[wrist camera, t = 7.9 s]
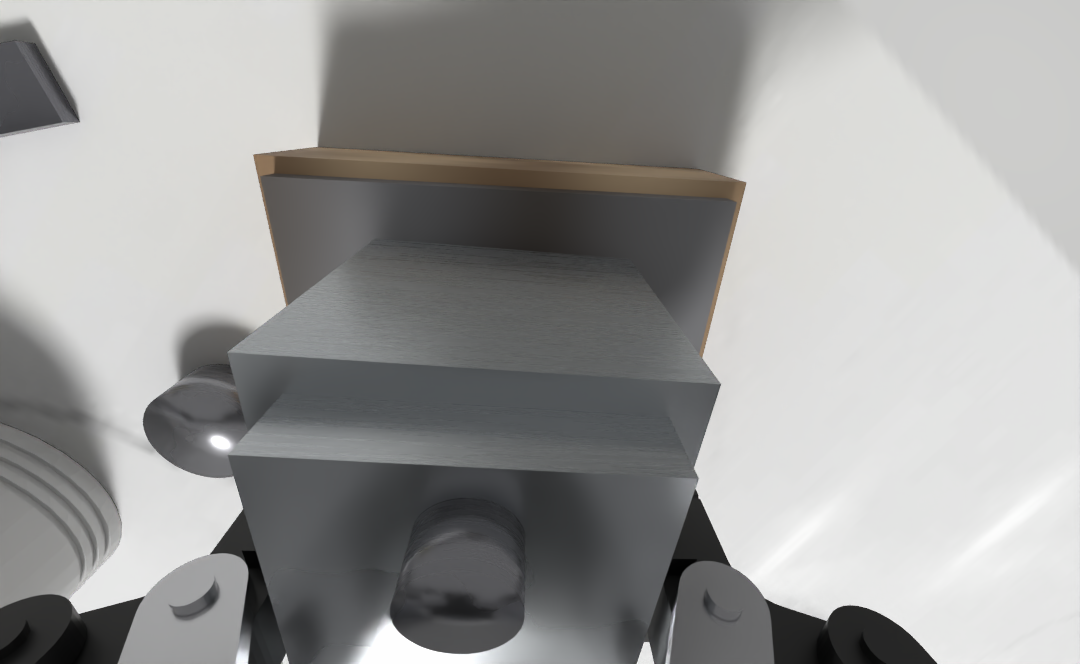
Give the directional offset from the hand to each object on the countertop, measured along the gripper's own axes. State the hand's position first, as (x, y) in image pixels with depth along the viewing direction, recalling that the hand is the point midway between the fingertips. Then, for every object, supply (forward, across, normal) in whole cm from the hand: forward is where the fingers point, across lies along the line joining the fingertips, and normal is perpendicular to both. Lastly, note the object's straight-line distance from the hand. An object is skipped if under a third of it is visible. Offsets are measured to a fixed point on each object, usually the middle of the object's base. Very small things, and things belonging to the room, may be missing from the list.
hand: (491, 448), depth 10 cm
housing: (+1, 0, 0) cm, 1 cm away
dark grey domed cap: (+7, +11, +4) cm, 13 cm away
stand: (+7, 0, 0) cm, 7 cm away
